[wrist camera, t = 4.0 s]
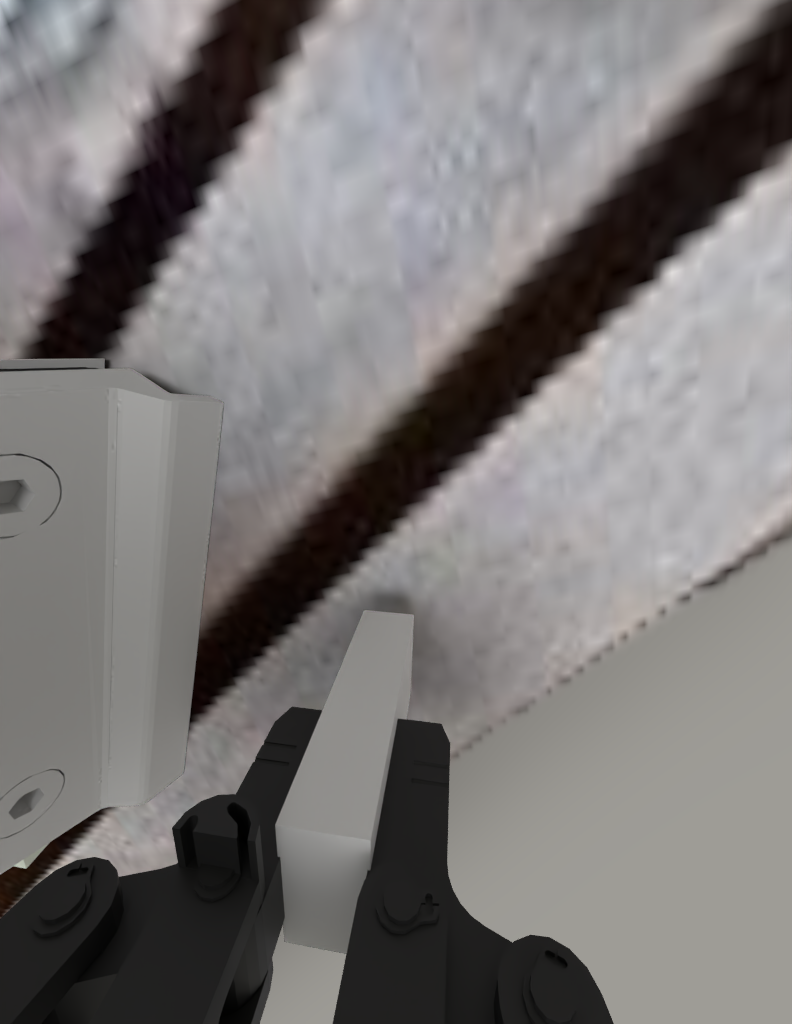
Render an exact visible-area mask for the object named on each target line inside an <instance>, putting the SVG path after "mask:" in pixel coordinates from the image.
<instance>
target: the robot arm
mask: <svg viewBox="0 0 792 1024" xmlns="http://www.w3.org/2000/svg"><path fill="white" fill-rule="evenodd" d="M413 628H414V615H413V614H402V613H391V612H381V611H370V610H364V611H363V614H362V616H361V618H360V621H359V623H358V626H357V628H356V631H355V633H354V635H353V638H352V640H351V643H350V645H349V647H348V650H347V652H346V655H345V657H344V660H343V662H342V664H341V667H340V669H339V672H338V674H337V677H336V679H335V681H334V684H333V686H332V689H331V691H330V693H329V696H328V698H327V701H326V703H325V706H324V708H323V710H314V709H306V708H298V707H291V708H290V709H289V710H288V711H287V712H286V713H284V714H283V715H282V716H281V717H280V718H279V719H278V720H277V721H275V723H274V725H273V726H272V728H271V730H270V732H269V734H268V736H267V738H266V739H265V741H264V745H262V747H261V749H260V751H259V752H258V754H257V756H256V759H255V762H253V764H252V765H251V767H250V769H249V771H248V773H247V775H246V777H245V778H244V780H243V782H242V784H241V786H240V788H239V790H238V791H237V793H236V795H235V794H232V795H217V796H215V797H212V798H209V799H206V800H203V801H201V802H200V803H198V804H197V805H195V806H194V807H192V808H191V809H190V810H188V811H187V812H185V813H184V815H183V816H182V817H181V818H180V819H179V820H178V822H177V823H176V824H175V825H174V826H173V827H172V830H173V836H174V842H175V847H176V853H177V859H178V863H177V864H175V865H172V866H169V867H166V868H162V869H158V870H153V871H148V872H142V873H137V874H132V875H127V876H122V877H118V873H117V870H116V869H115V867H114V866H113V865H112V864H111V863H110V861H109V860H105V859H101V858H96V857H92V858H87V859H81V860H76V861H74V862H72V863H70V864H68V865H66V866H64V867H62V868H59V869H57V870H56V871H54V872H53V873H52V874H50V875H49V876H48V877H46V878H45V879H44V880H43V881H41V882H40V883H39V884H37V885H36V886H35V887H34V888H33V889H32V890H31V891H30V892H28V893H27V894H26V895H25V896H24V897H23V898H22V899H21V900H20V901H19V902H18V903H17V904H16V905H15V906H13V907H12V908H11V909H10V910H9V911H8V912H7V913H6V914H5V915H4V916H3V917H2V918H1V919H0V1024H260V1020H261V1017H262V1014H263V1010H264V1008H265V1004H266V1001H267V998H268V994H269V991H270V986H271V981H272V974H273V962H272V956H273V953H274V950H275V946H276V943H277V940H278V937H279V934H280V931H281V928H282V925H283V930H284V941H285V942H288V943H293V944H298V945H303V946H308V947H313V948H318V949H324V950H329V951H334V952H339V953H344V954H347V955H346V960H345V965H344V970H343V975H342V980H341V985H340V990H339V995H338V1000H337V1005H336V1010H335V1015H334V1021H333V1024H613V1021H612V1018H611V1016H610V1014H609V1011H608V1009H607V1006H606V1004H605V1001H604V999H603V997H602V994H601V992H600V990H599V988H598V986H597V985H596V983H595V981H594V980H593V978H592V976H591V974H590V972H589V970H588V968H587V967H586V966H585V965H584V964H583V963H582V962H581V961H580V960H579V959H578V958H577V957H576V955H575V954H574V953H573V952H572V951H571V950H570V949H569V948H567V947H565V946H564V945H562V944H560V943H558V942H557V941H555V940H553V939H551V938H550V937H542V936H535V935H529V936H526V937H524V938H521V939H519V940H516V941H514V942H513V943H512V942H510V941H509V940H507V939H505V938H504V937H502V936H500V935H499V934H497V933H495V932H494V931H492V930H490V929H488V928H487V927H485V926H484V925H482V924H481V923H480V922H478V921H477V920H476V919H474V918H473V917H472V916H471V915H470V914H469V913H468V912H467V911H466V909H465V908H464V907H463V906H462V905H461V904H460V902H459V900H458V898H457V897H456V895H455V893H454V891H453V889H452V886H451V883H450V879H449V877H448V867H447V844H448V842H447V841H448V805H449V804H448V803H449V765H450V742H449V740H448V738H447V735H446V733H445V731H444V729H443V727H442V724H438V723H430V722H422V721H414V720H407V714H408V707H409V701H410V695H411V677H412V653H413Z"/></svg>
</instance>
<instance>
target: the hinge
mask: <svg viewBox="0 0 792 1024" xmlns="http://www.w3.org/2000/svg"><path fill="white" fill-rule="evenodd" d="M223 407H224V402H222V401H220V400H218V399H216V398H213V397H211V396H204V395H188V394H172V393H168V392H167V391H165V390H164V389H162V388H161V387H159V386H158V385H156V384H155V383H153V382H152V381H150V380H149V379H147V378H146V377H144V376H143V375H141V374H140V373H138V372H137V371H135V370H134V369H132V368H115V369H105V359H0V874H2V873H3V872H5V871H6V870H8V869H10V868H11V867H13V866H14V865H16V864H17V863H19V862H20V861H22V860H23V859H25V858H26V857H28V856H29V855H31V854H32V853H34V852H35V851H37V850H38V849H40V848H42V847H43V846H45V845H46V844H48V843H49V842H51V841H52V840H54V839H55V838H57V837H58V836H60V835H61V834H63V833H64V832H66V831H67V830H69V829H70V828H72V827H74V826H75V825H77V824H78V823H80V822H81V821H83V820H84V819H86V818H87V817H89V816H90V815H92V814H93V813H95V812H97V811H98V810H100V809H103V808H106V807H122V806H139V805H142V804H145V803H146V802H148V801H150V800H151V799H152V798H153V797H155V796H156V795H157V794H158V793H160V792H161V791H162V790H163V789H165V788H166V787H167V786H168V785H170V784H171V783H172V782H173V781H175V780H176V779H177V778H178V777H180V776H181V775H182V774H183V773H184V767H185V758H186V748H187V739H188V730H189V721H190V711H191V702H192V693H193V684H194V675H195V665H196V656H197V647H198V638H199V628H200V619H201V610H202V601H203V592H204V582H205V573H206V564H207V555H208V546H209V536H210V527H211V518H212V509H213V499H214V490H215V481H216V472H217V463H218V453H219V444H220V435H221V426H222V416H223Z"/></svg>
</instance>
